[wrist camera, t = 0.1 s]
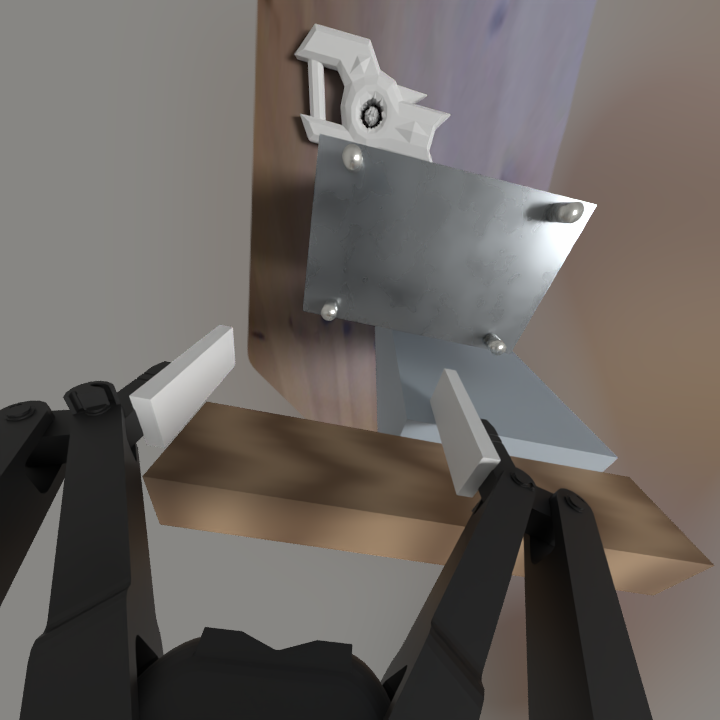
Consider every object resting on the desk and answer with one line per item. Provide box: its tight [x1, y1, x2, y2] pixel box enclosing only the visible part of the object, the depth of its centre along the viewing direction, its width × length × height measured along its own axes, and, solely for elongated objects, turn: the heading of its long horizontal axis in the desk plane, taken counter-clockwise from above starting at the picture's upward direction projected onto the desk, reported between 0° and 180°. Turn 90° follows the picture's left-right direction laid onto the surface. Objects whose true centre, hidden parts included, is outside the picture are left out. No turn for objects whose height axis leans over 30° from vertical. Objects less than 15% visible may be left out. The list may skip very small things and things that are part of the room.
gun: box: [294, 24, 451, 163], centre depth 30 cm, size 18×4×10 cm
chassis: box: [303, 134, 597, 355], centre depth 26 cm, size 10×16×26 cm, turn 78°
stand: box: [375, 326, 618, 472], centre depth 31 cm, size 7×14×30 cm, turn 78°
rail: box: [143, 402, 714, 595], centre depth 15 cm, size 28×4×5 cm, turn 78°
